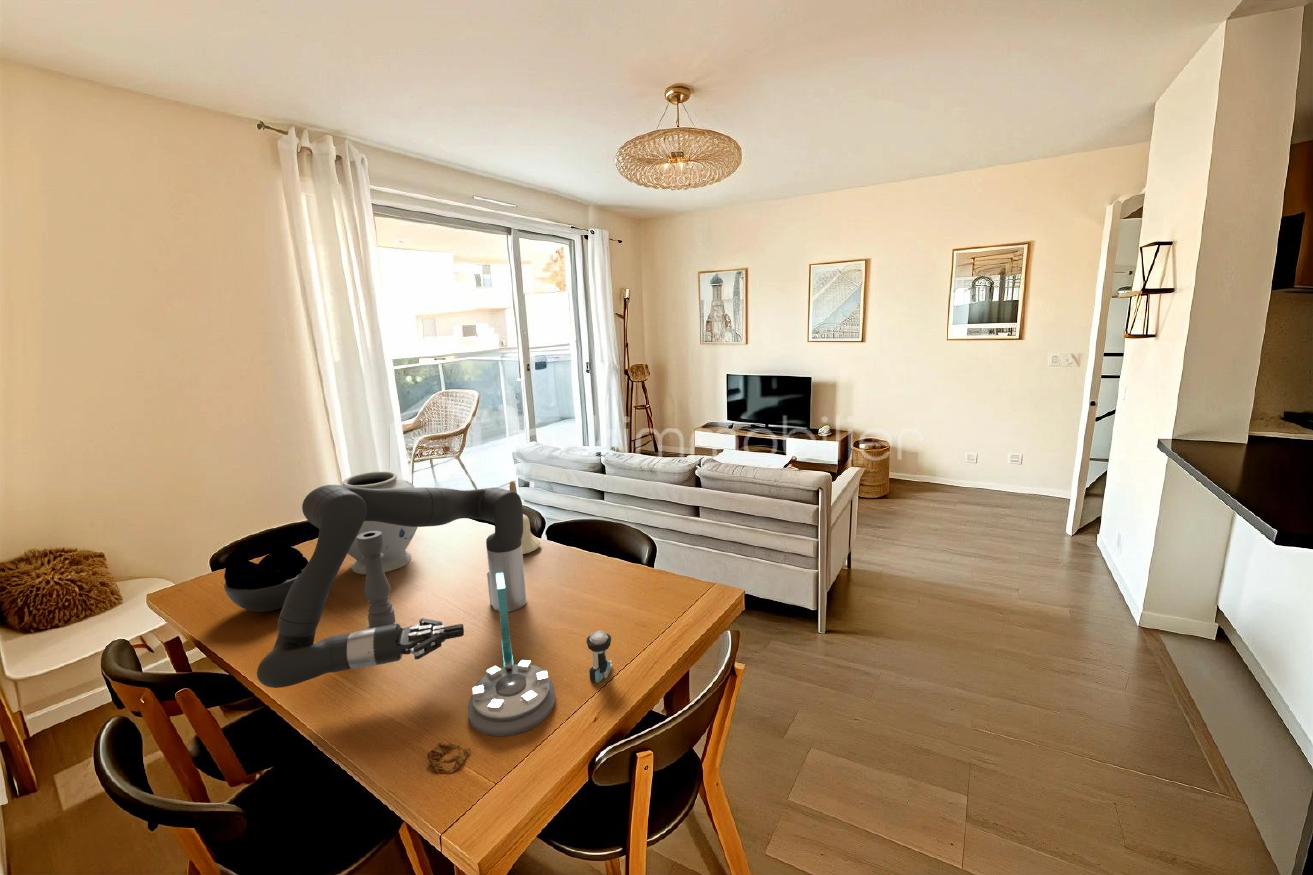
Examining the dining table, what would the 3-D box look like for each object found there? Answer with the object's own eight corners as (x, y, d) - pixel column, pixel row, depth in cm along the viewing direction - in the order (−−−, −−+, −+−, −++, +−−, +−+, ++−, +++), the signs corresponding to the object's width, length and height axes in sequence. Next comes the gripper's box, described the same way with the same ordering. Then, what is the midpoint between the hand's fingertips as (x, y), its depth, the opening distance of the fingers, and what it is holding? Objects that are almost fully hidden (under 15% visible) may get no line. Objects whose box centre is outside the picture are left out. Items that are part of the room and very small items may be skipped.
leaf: (450, 781, 92) (451, 772, 92) (420, 766, 95) (420, 757, 94) (476, 756, 98) (477, 748, 98) (447, 743, 101) (447, 734, 100)
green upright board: (554, 710, 105) (547, 622, 101) (473, 730, 100) (463, 639, 96) (538, 640, 128) (532, 567, 125) (472, 653, 124) (464, 578, 120)
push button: (602, 662, 123) (600, 623, 121) (621, 670, 120) (619, 629, 118) (583, 679, 117) (581, 637, 115) (603, 687, 114) (600, 644, 112)
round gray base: (450, 716, 107) (449, 707, 107) (514, 669, 121) (513, 661, 121) (511, 748, 98) (510, 739, 98) (572, 694, 112) (571, 686, 112)
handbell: (534, 559, 179) (529, 487, 174) (489, 560, 180) (482, 488, 175) (544, 540, 194) (539, 474, 189) (503, 541, 195) (496, 475, 190)
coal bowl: (332, 597, 157) (321, 536, 154) (258, 632, 140) (245, 565, 136) (289, 585, 166) (278, 527, 162) (215, 617, 148) (201, 553, 144)
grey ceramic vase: (442, 557, 183) (432, 472, 177) (365, 590, 161) (351, 494, 155) (396, 542, 197) (385, 463, 191) (319, 570, 175) (304, 482, 169)
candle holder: (400, 619, 144) (388, 531, 139) (382, 631, 138) (368, 540, 133) (382, 616, 146) (369, 529, 141) (363, 628, 140) (349, 538, 135)
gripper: (366, 647, 105) (460, 629, 110) (378, 614, 117) (462, 599, 122) (372, 681, 107) (464, 662, 112) (383, 644, 119) (466, 629, 124)
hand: (463, 629), depth 117 cm, fingers closed
